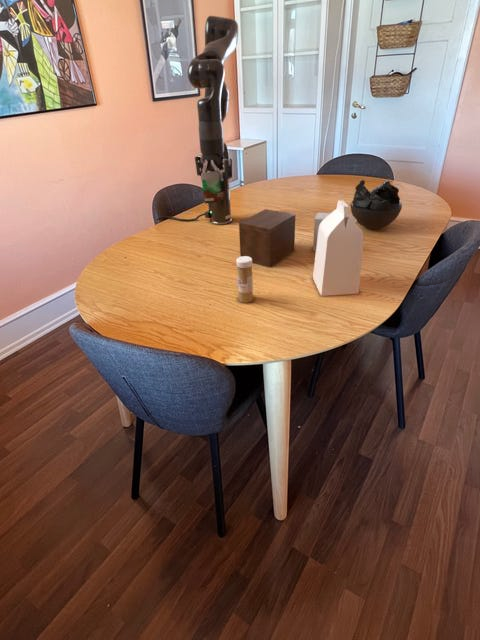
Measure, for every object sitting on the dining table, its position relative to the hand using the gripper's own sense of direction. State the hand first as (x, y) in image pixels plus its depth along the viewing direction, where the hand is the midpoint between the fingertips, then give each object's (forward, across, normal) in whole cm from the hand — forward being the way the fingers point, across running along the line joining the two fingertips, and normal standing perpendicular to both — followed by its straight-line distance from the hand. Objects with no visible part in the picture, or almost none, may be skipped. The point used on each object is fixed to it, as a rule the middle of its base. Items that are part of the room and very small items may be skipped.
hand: (215, 190), depth 128 cm
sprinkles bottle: (+25, -26, +19) cm, 41 cm away
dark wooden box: (+25, -13, -12) cm, 31 cm away
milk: (+25, -44, -3) cm, 51 cm away
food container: (+3, 0, 0) cm, 3 cm away
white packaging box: (+25, -28, -28) cm, 47 cm away
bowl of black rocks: (+25, -36, -58) cm, 73 cm away
